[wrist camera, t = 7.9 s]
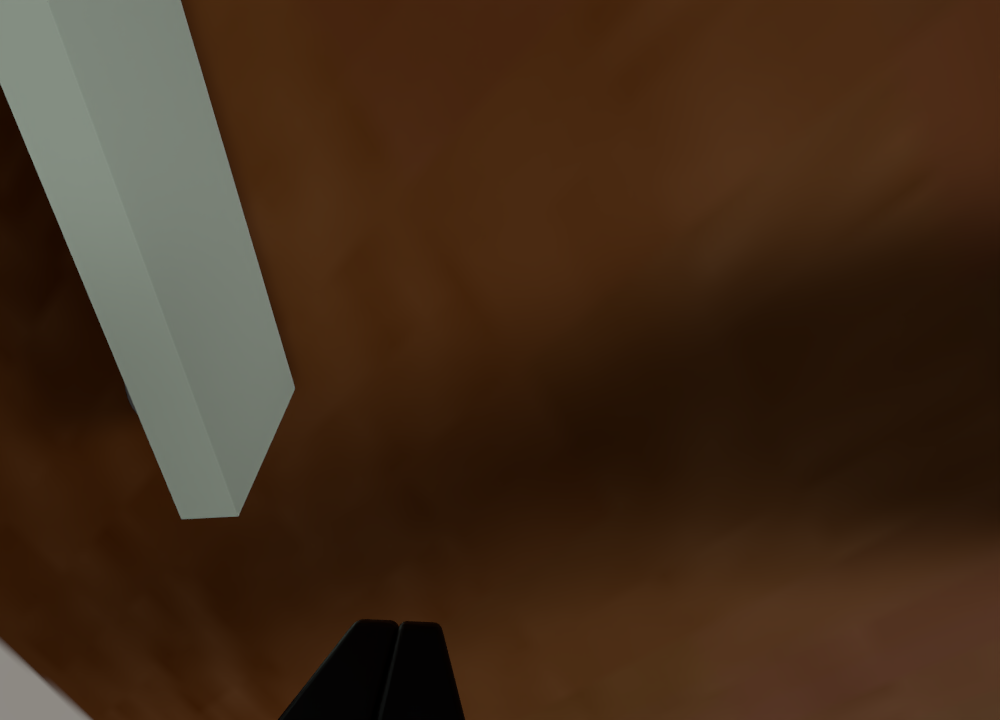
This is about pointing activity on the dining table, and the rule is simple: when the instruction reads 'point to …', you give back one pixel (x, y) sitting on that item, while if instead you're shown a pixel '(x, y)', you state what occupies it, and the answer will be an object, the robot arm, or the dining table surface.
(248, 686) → the dining table surface
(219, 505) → the door
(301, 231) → the dining table surface
